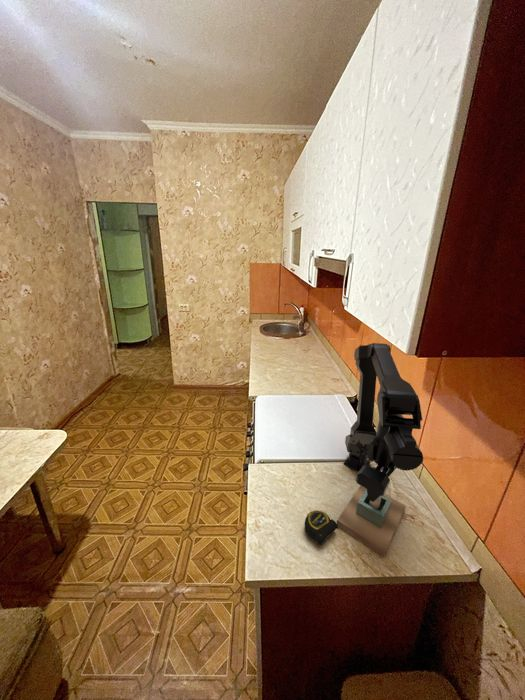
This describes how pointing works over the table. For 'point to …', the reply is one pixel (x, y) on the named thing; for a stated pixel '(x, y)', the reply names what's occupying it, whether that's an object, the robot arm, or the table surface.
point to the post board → (365, 529)
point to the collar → (373, 510)
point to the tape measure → (319, 526)
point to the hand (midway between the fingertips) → (378, 488)
